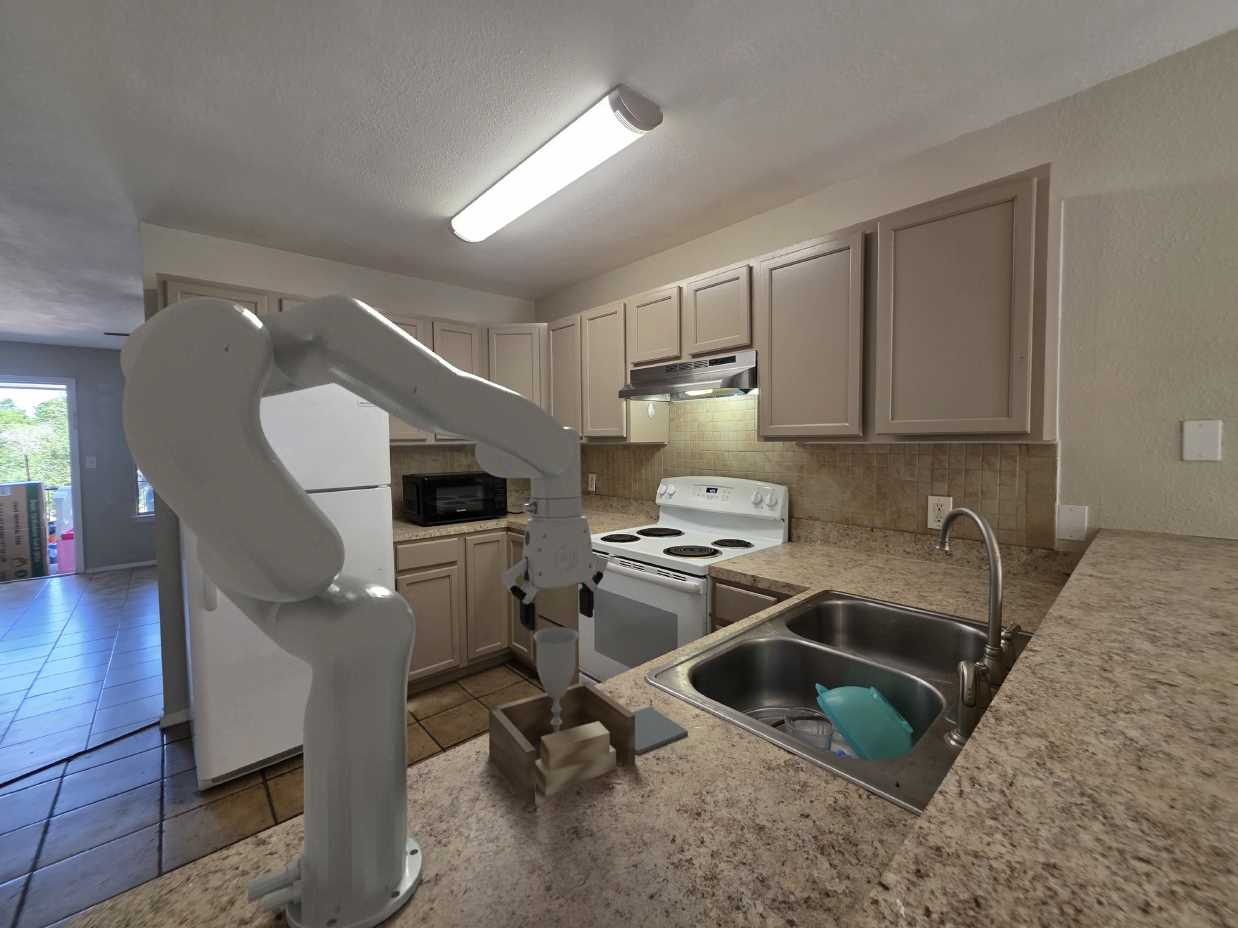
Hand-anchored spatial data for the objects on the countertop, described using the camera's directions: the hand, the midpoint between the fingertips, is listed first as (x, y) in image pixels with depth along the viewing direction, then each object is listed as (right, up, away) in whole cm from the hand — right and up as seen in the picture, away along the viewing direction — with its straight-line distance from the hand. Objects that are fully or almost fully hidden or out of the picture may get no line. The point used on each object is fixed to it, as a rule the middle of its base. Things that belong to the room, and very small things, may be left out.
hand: (558, 621), depth 77 cm
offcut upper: (+3, -17, -5) cm, 18 cm away
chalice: (0, -20, 0) cm, 20 cm away
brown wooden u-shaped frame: (+1, -20, -2) cm, 20 cm away
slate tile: (+13, -20, +6) cm, 25 cm away
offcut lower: (+3, -20, -5) cm, 21 cm away
